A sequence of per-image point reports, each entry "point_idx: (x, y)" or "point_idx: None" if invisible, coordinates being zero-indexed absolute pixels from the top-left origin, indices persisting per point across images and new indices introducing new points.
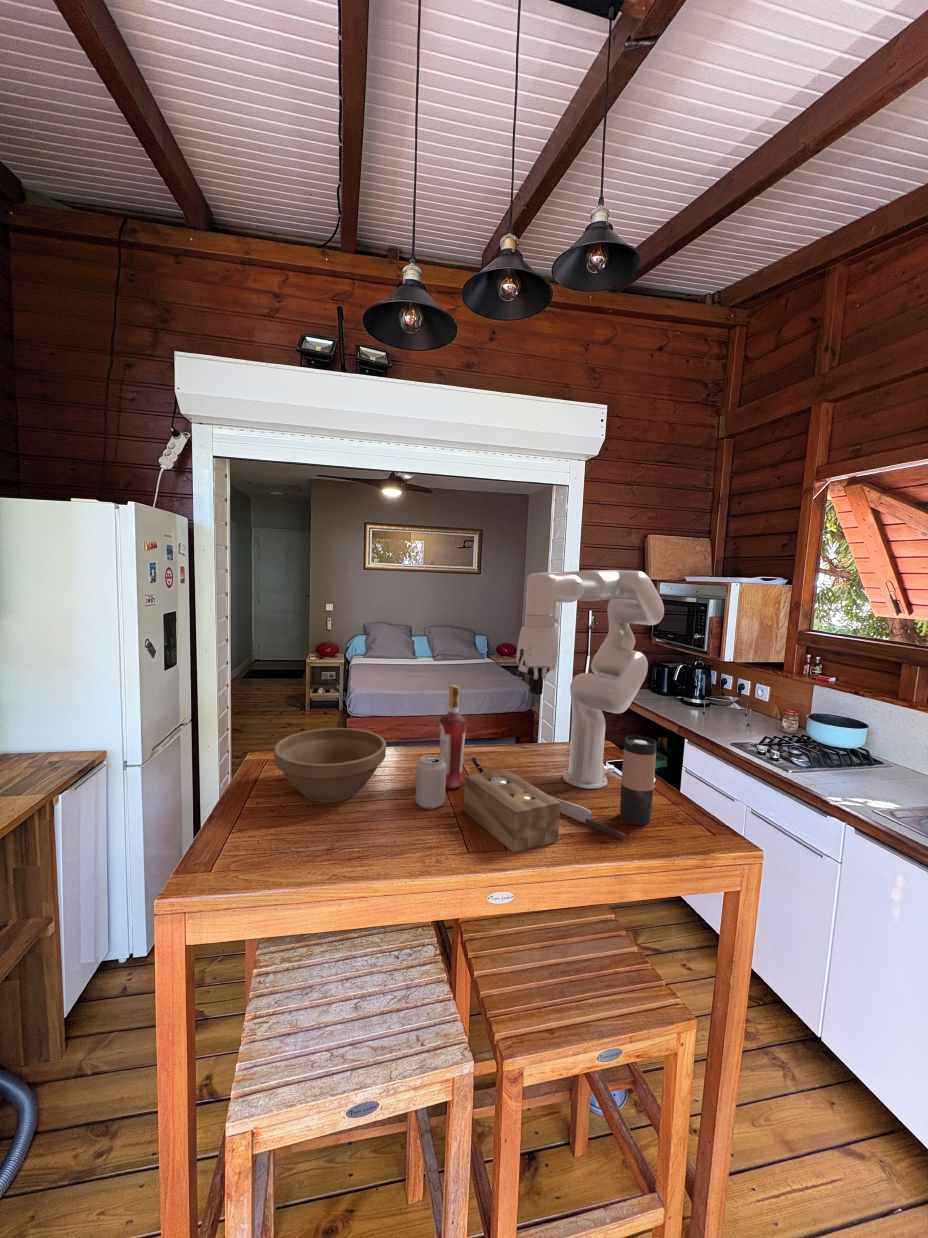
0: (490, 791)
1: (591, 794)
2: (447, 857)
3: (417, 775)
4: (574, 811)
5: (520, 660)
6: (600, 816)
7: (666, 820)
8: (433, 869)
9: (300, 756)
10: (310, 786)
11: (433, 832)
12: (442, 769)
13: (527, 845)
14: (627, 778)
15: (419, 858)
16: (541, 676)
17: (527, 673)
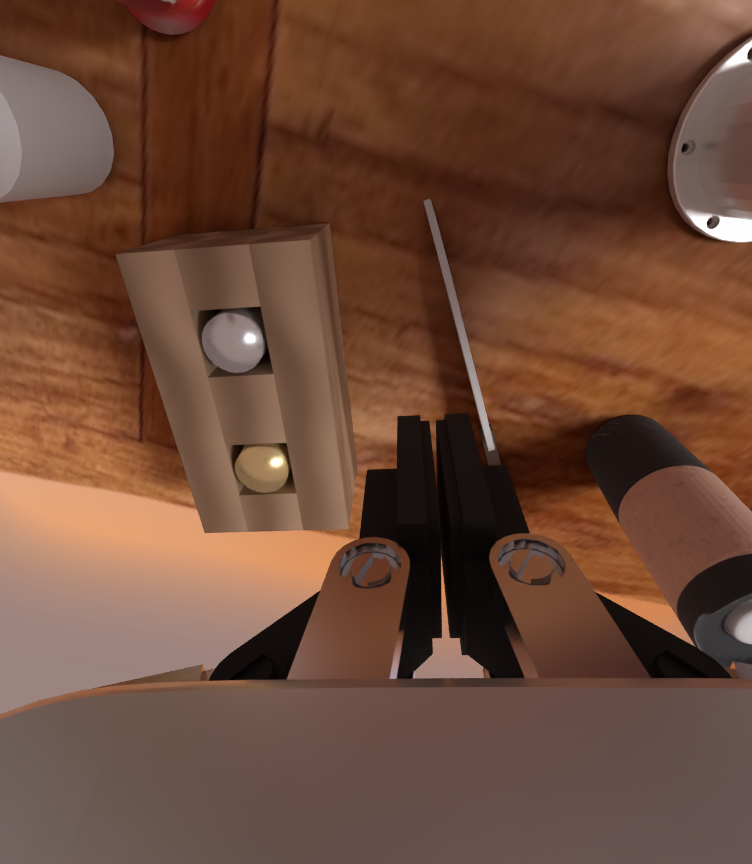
0: (175, 410)
1: (663, 271)
2: (91, 439)
3: None
4: (475, 401)
5: (22, 797)
6: (551, 407)
7: None
8: (57, 466)
9: None
10: None
11: (67, 329)
12: (5, 196)
13: None
14: (631, 531)
15: (29, 423)
16: (484, 670)
17: (275, 641)
